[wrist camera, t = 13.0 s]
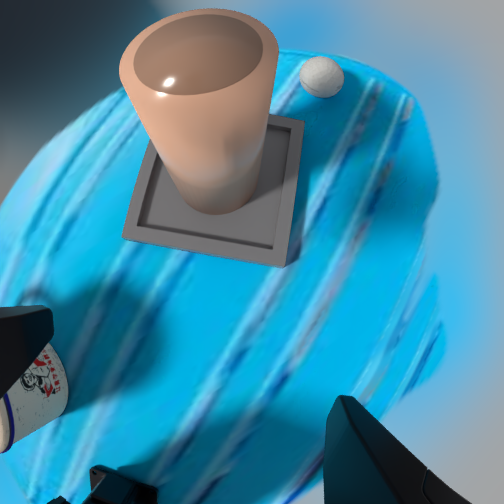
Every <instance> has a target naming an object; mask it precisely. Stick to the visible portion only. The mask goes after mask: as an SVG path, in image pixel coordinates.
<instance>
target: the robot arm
mask: <svg viewBox="0 0 504 504" xmlns="http://www.w3.org/2000/svg"><path fill="white" fill-rule="evenodd" d="M53 335H54V325H53V314H52V311H51V309H49V308H47V307H45V306H43V305H32V306H16V307H0V400H1V398H2V397H3V396H4V395H5V394H6V393H7V392H8V390H9V389H10V388H11V387H12V386H13V385H14V384H15V383H16V382H17V380H18V379H19V378H20V377H21V376H22V375H23V374H24V373H25V372H26V371H27V369H28V368H29V367H30V366H31V365H32V363H33V362H34V361H35V360H36V358H37V357H38V356H39V354H40V353H41V352H42V350H43V349H44V348H45V347H46V345H47V344H48V343H49V342H50V340H51V339H52V337H53ZM94 471H95V472H96V473H95V472H94ZM323 478H324V504H472V503H470V502H469V501H467V500H466V499H465V498H463V497H462V496H460V495H459V494H458V493H456V492H455V491H454V490H453V489H451V488H450V487H449V486H448V485H446V484H445V483H444V482H443V481H442V480H441V479H439V478H438V477H437V476H436V475H435V474H434V473H433V472H432V471H431V470H429V469H428V470H427V467H426V466H425V465H424V464H423V463H422V462H421V461H420V460H418V459H417V458H416V457H415V456H414V455H413V454H412V453H411V452H410V451H409V450H408V449H407V448H406V447H405V446H404V445H402V443H401V442H399V441H398V440H397V439H396V438H395V437H394V436H393V435H392V434H391V433H390V432H389V431H388V430H387V429H386V428H385V427H384V426H383V425H382V424H381V423H380V422H379V421H378V420H377V419H376V418H375V417H373V416H372V415H371V414H370V413H369V412H368V411H367V410H366V409H365V408H364V407H363V406H362V405H361V404H360V403H359V402H358V401H357V400H356V399H355V398H354V397H352V396H346V395H339V396H338V397H337V398H336V400H335V402H334V404H333V407H332V409H331V411H330V413H329V415H328V418H327V422H326V436H325V450H324V463H323ZM90 483H91V493H90V494H89V495H88V496H87V498H86V499H85V500H84V501H83V503H82V504H158V490H157V488H155V487H153V486H149V485H146V484H142V483H139V482H136V481H133V480H130V479H127V478H124V477H121V476H118V475H115V474H112V473H110V472H107V471H104V470H102V469H99V468H97V467H92V468H91V469H90ZM151 491H153V492H151ZM47 504H70V503H69V502H68V501H66V499H65V498H63V497H62V496H59V497H58V498H56V499H53V500H51V501H50V502H48V503H47Z"/></svg>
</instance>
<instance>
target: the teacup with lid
mask: <svg viewBox="0 0 504 504" xmlns="http://www.w3.org/2000/svg"><path fill="white" fill-rule="evenodd" d="M67 400H68V383H67V377H66V374H65V370H64V368H63V365H62V363H61V361H60V359H59V357H58V355H57V353H56V352H55V350H54V349H53V347H52V346H51V345H50V344H49V343H48V344H47V345H46V347H45V348H44V349H43V350H42V352H41V353H40V354H39V356H38V357H37V358H36V360H35V361H34V362H33V363H32V365H31V366H30V367H29V368H28V369H27V371H26V372H25V373H24V374H23V375H22V376H21V377H20V378H19V379H18V380H17V382H16V383H15V384H14V385H13V386H12V387H11V388H10V389H9V390H8V392H7V393H6V394H5V395H4V396H3V397H2V398H1V400H0V453H5V452H7V451H8V450H9V449H10V448H11V446H12V444H14V443H15V442H17V441H19V440H20V439H22V438H24V437H26V436H27V435H29V434H31V433H32V432H34V431H36V430H37V429H39V428H41V427H42V426H44V425H46V424H47V423H49V422H51V421H52V420H54V419H56V418H57V417H59V416H60V415H61V414H62V412H63V411H64V409H65V407H66V404H67Z"/></svg>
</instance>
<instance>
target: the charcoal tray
mask: <svg viewBox="0 0 504 504" xmlns="http://www.w3.org/2000/svg"><path fill="white" fill-rule="evenodd" d="M304 124H305V121H302V120H297V119H292V118H287V117H282V116H276V115H271V114H269V116H268V122H267V128H266V134H265V141H264V147H263V153H262V159H261V165H260V171H259V177H258V183H257V187H256V190H255V192H254V194H253V195H252V197H251V198H250V200H249V201H248V202H247V203H246V204H245V205H243V206H242V207H241V208H239V209H237V210H235V211H233V212H231V213H227V214H222V215H209V214H204V213H201V212H199V211H197V210H195V209H193V208H192V207H190V206H189V205H188V204H187V203H186V202H185V201H184V199H183V198H182V196H181V195H180V193H179V191H178V189H177V187H176V185H175V184H174V182H173V180H172V178H171V176H170V174H169V173H168V171H167V169H166V167H165V165H164V163H163V161H162V160H161V158H160V156H159V154H158V152H157V150H156V148H155V146H154V144H153V143H152V141H151V139H150V140H149V143H148V146H147V149H146V152H145V155H144V158H143V161H142V164H141V167H140V171H139V174H138V177H137V180H136V184H135V187H134V191H133V194H132V198H131V201H130V205H129V209H128V213H127V216H126V220H125V224H124V228H123V233H122V238H124V239H126V240H129V241H134V242H140V243H145V244H150V245H156V246H161V247H166V248H172V249H177V250H182V251H188V252H193V253H199V254H204V255H210V256H215V257H221V258H226V259H232V260H238V261H243V262H249V263H254V264H260V265H266V266H271V267H277V268H284V267H285V262H286V256H287V249H288V243H289V236H290V230H291V223H292V216H293V209H294V202H295V195H296V187H297V180H298V172H299V165H300V157H301V149H302V141H303V133H304Z"/></svg>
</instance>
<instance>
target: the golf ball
mask: <svg viewBox="0 0 504 504" xmlns="http://www.w3.org/2000/svg"><path fill="white" fill-rule="evenodd" d="M299 77H300V82H301V84H302V86H303V88H304V89H305V90H306V91H307V92H308V93H309V94H311V95H313V96H315V97H320V98H327V97H331V96H333V95H335V94H336V93H337V92H339V91H340V89H341V88H342V86H343V83H344V74H343V71H342V69H341V68H340V66H339V65H338V64H337V63H336V62H335V61H334V60H332V59H330V58H327V57H321V56H320V57H314V58H311V59H309V60H307V61H306V62H305V63H304V64H303V66H302V68H301V70H300V75H299Z"/></svg>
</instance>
